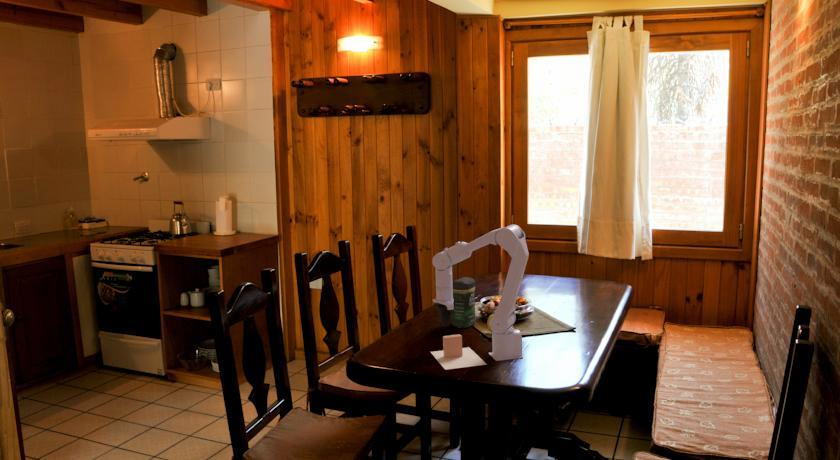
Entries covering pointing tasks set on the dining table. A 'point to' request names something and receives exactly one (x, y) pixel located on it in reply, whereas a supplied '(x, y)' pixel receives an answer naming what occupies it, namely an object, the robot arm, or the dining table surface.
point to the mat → (459, 359)
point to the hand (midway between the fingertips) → (445, 325)
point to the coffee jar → (463, 302)
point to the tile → (452, 346)
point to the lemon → (489, 323)
